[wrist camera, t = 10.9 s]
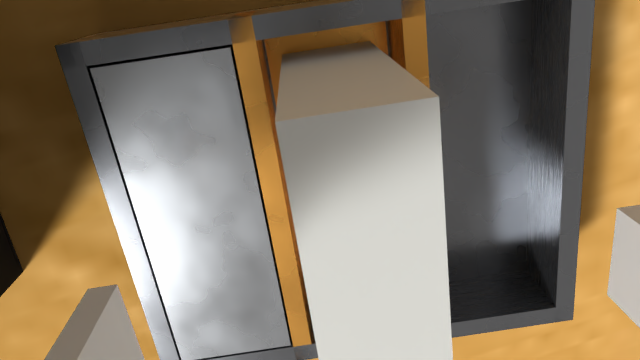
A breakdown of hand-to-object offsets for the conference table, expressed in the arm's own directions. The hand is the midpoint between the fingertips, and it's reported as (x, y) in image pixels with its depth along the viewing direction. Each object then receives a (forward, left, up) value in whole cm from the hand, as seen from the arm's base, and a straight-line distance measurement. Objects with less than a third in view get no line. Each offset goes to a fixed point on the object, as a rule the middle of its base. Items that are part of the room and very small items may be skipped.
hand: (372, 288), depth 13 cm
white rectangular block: (0, 0, -9) cm, 9 cm away
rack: (0, 0, -10) cm, 10 cm away
